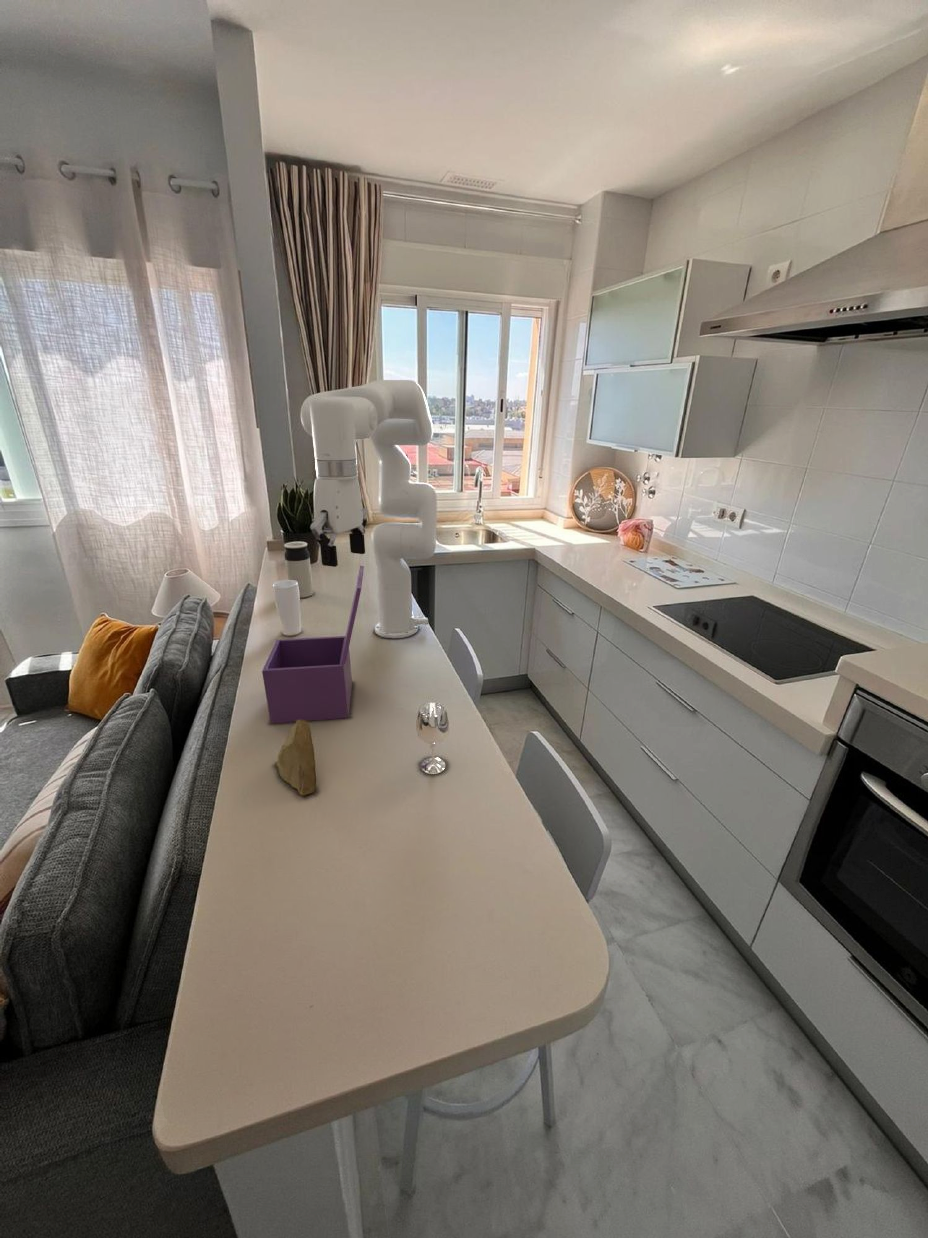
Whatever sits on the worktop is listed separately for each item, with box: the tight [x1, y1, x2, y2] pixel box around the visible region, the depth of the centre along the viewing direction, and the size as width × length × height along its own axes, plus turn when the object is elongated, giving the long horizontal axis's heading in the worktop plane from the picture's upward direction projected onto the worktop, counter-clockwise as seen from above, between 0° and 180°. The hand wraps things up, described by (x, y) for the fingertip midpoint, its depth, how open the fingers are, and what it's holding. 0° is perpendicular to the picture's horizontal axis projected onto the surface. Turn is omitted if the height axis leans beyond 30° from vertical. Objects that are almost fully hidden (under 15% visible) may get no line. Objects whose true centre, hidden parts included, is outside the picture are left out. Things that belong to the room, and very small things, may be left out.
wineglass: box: [415, 702, 450, 775], centre depth 87 cm, size 6×6×12 cm
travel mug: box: [283, 541, 314, 599], centre depth 169 cm, size 8×8×18 cm
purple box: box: [261, 635, 353, 725], centre depth 107 cm, size 16×15×12 cm
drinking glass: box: [272, 579, 302, 637], centre depth 140 cm, size 7×7×15 cm
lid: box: [341, 565, 365, 664], centre depth 103 cm, size 16×15×1 cm
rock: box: [275, 719, 317, 797], centre depth 85 cm, size 11×9×10 cm
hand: (344, 559), depth 98 cm, fingers open, 9 cm apart
